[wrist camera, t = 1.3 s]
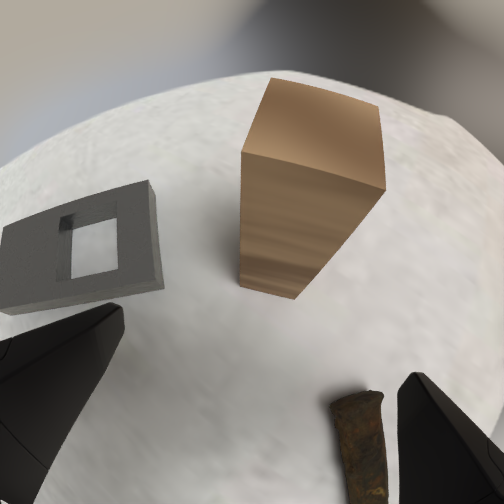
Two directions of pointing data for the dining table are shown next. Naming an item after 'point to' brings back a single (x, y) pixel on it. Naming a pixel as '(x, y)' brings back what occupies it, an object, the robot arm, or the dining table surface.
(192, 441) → the dining table surface
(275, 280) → the walnut post
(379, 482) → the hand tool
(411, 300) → the dining table surface
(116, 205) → the grey slotted base plate
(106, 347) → the robot arm
